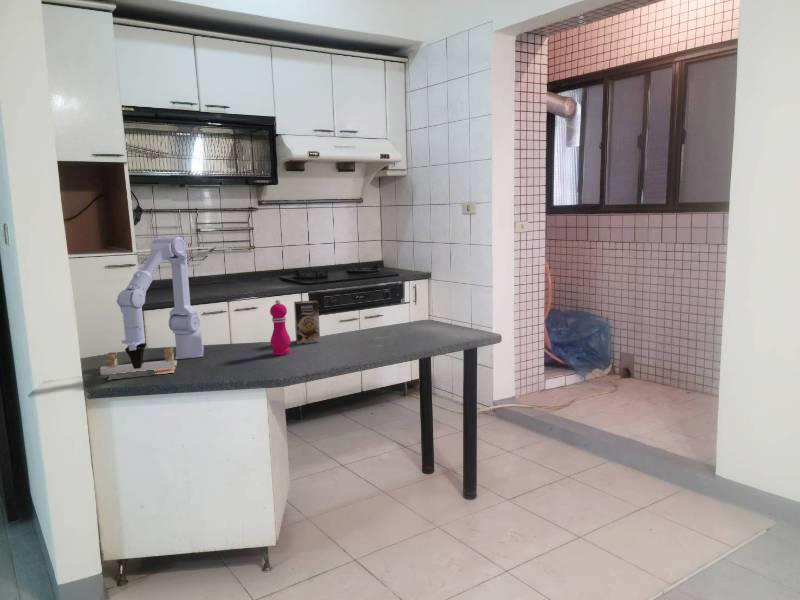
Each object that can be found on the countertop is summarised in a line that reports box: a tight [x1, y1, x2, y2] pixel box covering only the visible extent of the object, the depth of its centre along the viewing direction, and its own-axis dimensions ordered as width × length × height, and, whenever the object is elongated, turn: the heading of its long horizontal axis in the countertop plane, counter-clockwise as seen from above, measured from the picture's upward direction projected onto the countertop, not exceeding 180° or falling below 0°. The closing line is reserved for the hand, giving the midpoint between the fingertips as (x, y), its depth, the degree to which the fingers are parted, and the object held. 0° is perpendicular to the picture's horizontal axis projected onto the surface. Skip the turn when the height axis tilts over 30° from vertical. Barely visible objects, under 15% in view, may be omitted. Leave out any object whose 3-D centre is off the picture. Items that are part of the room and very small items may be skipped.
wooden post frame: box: [105, 346, 178, 368], centre depth 200 cm, size 22×6×6 cm, turn 107°
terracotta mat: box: [154, 367, 176, 375], centre depth 193 cm, size 20×8×1 cm, turn 107°
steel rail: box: [99, 359, 175, 376], centre depth 192 cm, size 22×2×2 cm, turn 107°
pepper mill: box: [269, 299, 292, 356], centre depth 213 cm, size 7×7×20 cm
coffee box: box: [293, 300, 321, 345], centre depth 231 cm, size 9×6×16 cm
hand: (138, 367), depth 192 cm, fingers closed on steel rail, 2 cm apart
